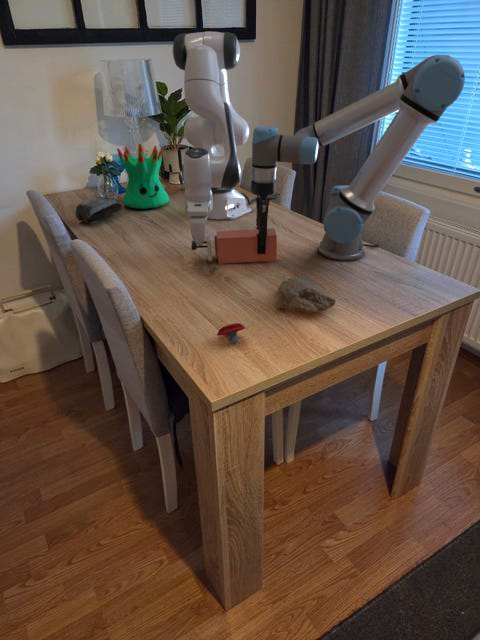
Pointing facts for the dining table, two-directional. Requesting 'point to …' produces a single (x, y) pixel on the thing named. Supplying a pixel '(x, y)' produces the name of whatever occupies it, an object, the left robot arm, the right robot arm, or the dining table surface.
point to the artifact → (302, 296)
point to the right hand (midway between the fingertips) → (260, 249)
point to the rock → (96, 209)
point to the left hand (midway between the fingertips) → (200, 245)
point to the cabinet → (245, 246)
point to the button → (231, 331)
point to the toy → (143, 179)
